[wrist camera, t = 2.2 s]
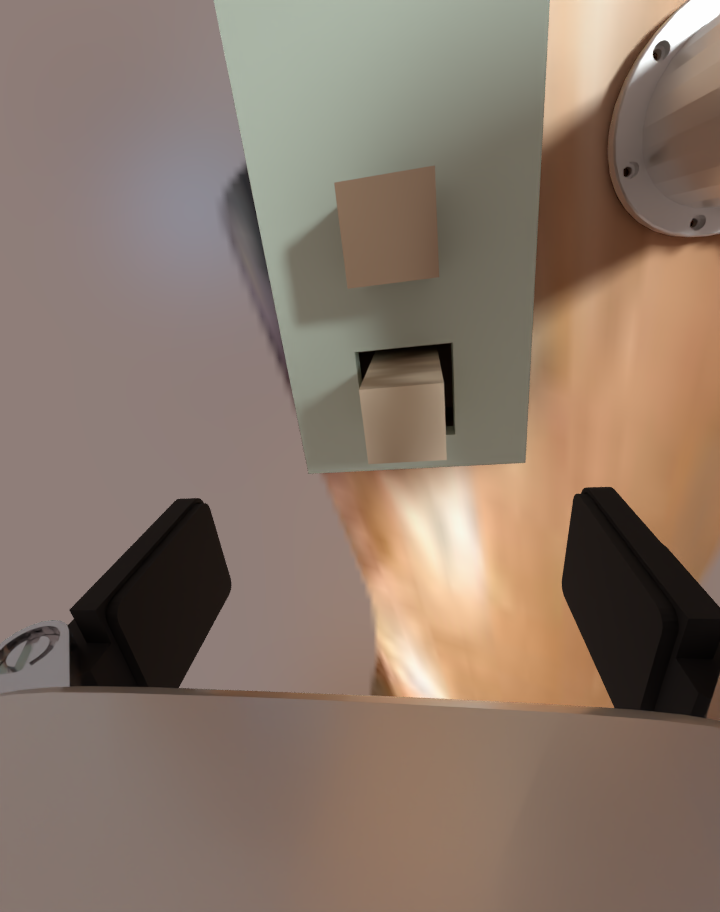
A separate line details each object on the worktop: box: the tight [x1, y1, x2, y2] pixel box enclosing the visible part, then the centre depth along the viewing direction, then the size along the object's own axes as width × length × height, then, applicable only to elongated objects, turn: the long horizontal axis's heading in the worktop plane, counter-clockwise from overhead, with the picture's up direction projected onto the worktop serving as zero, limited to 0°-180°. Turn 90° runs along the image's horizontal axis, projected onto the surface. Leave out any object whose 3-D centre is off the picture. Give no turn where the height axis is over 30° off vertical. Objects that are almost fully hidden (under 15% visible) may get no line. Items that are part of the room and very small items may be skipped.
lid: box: [214, 0, 550, 474], centre depth 20 cm, size 14×26×6 cm, turn 7°
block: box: [359, 344, 447, 464], centre depth 26 cm, size 4×4×14 cm
